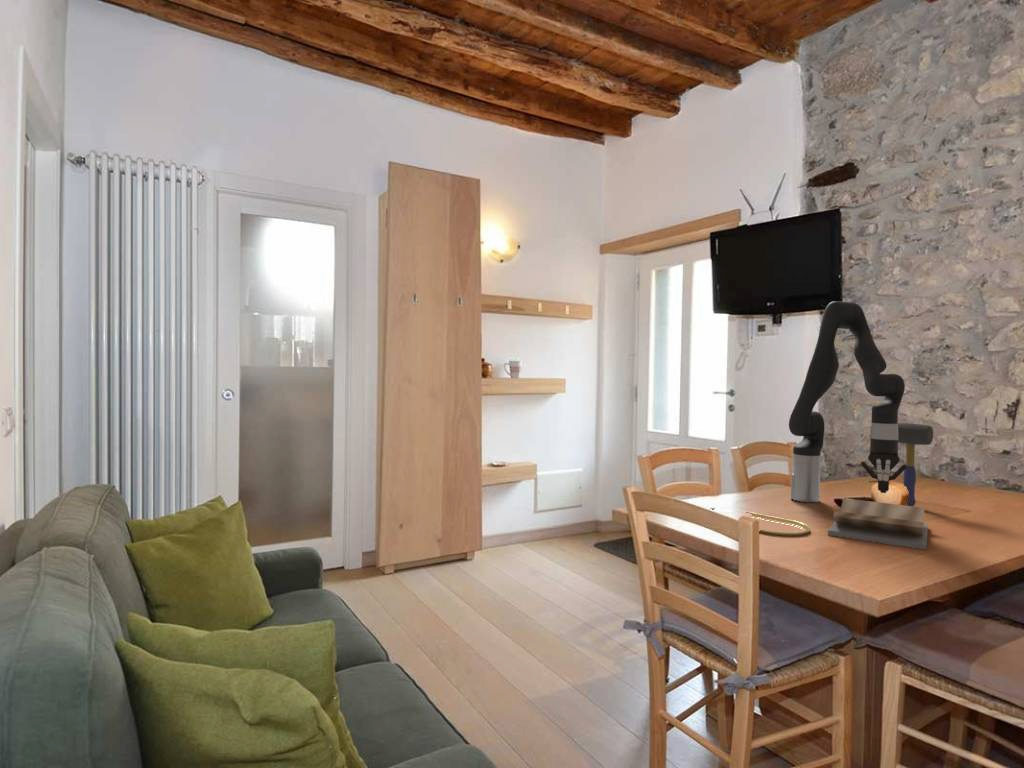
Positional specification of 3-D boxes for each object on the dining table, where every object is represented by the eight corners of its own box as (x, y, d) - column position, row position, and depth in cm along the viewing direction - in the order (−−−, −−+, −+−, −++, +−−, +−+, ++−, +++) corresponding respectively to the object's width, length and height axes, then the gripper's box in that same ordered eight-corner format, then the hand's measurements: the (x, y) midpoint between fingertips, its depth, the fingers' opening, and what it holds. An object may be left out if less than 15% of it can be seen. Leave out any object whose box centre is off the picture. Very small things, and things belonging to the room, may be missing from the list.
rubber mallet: (932, 508, 217) (935, 424, 216) (925, 511, 212) (927, 425, 211) (893, 501, 226) (895, 421, 226) (885, 504, 222) (887, 422, 221)
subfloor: (827, 535, 180) (828, 524, 180) (840, 516, 203) (840, 507, 202) (926, 550, 166) (926, 538, 166) (927, 528, 189) (927, 518, 189)
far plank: (840, 517, 194) (840, 513, 194) (843, 502, 200) (843, 498, 199) (923, 528, 182) (923, 524, 181) (924, 511, 187) (924, 507, 187)
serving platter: (715, 509, 212) (716, 505, 212) (820, 530, 186) (820, 525, 186) (685, 518, 200) (686, 513, 200) (793, 541, 174) (793, 536, 174)
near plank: (833, 515, 181) (833, 510, 181) (836, 523, 186) (836, 518, 187) (922, 527, 168) (922, 522, 169) (922, 535, 174) (922, 530, 174)
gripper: (909, 437, 191) (908, 493, 191) (861, 435, 198) (860, 488, 198) (908, 440, 184) (907, 497, 185) (858, 437, 192) (857, 491, 192)
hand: (883, 492), depth 192 cm, fingers closed
